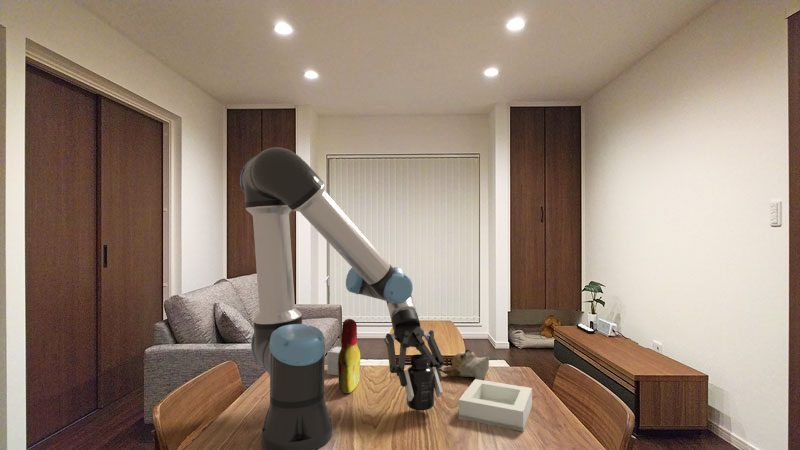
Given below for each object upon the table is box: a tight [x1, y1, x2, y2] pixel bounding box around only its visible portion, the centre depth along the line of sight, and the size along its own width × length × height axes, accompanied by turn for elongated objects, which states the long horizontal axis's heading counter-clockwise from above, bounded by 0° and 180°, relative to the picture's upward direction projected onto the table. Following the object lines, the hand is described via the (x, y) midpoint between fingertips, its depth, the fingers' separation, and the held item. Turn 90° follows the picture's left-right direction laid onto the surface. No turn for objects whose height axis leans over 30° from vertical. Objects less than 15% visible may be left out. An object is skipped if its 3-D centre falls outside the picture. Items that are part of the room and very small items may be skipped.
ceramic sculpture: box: [439, 349, 490, 380], centre depth 123 cm, size 11×9×15 cm
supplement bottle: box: [406, 353, 435, 411], centre depth 98 cm, size 7×7×12 cm
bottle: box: [338, 318, 361, 394], centre depth 114 cm, size 12×6×20 cm, turn 177°
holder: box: [458, 378, 533, 433], centre depth 98 cm, size 15×15×4 cm
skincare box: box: [326, 346, 342, 376], centre depth 127 cm, size 6×6×7 cm
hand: (425, 396), depth 94 cm, fingers closed on supplement bottle, 7 cm apart
